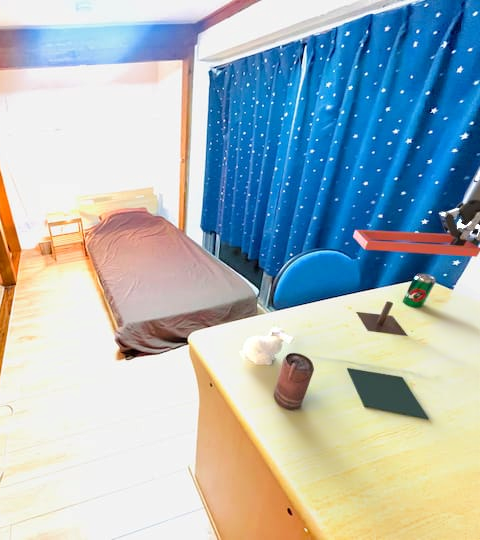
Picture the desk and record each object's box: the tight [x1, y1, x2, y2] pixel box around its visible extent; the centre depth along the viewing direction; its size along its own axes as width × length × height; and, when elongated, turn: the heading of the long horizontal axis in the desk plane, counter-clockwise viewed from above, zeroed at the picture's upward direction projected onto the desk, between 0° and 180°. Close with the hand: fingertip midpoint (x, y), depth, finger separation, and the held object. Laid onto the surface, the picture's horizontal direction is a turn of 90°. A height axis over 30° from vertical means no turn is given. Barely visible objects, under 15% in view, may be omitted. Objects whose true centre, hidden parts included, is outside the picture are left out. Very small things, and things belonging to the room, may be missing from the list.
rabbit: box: [239, 327, 294, 366], centre depth 79 cm, size 12×9×12 cm
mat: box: [346, 367, 430, 420], centre depth 70 cm, size 12×12×1 cm
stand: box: [355, 301, 409, 337], centre depth 88 cm, size 10×10×9 cm
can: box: [273, 352, 315, 412], centre depth 67 cm, size 6×6×14 cm
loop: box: [352, 229, 480, 258], centre depth 68 cm, size 8×20×2 cm, turn 70°
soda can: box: [402, 273, 437, 309], centre depth 94 cm, size 5×5×12 cm
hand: (458, 252), depth 66 cm, fingers closed on loop, 1 cm apart
